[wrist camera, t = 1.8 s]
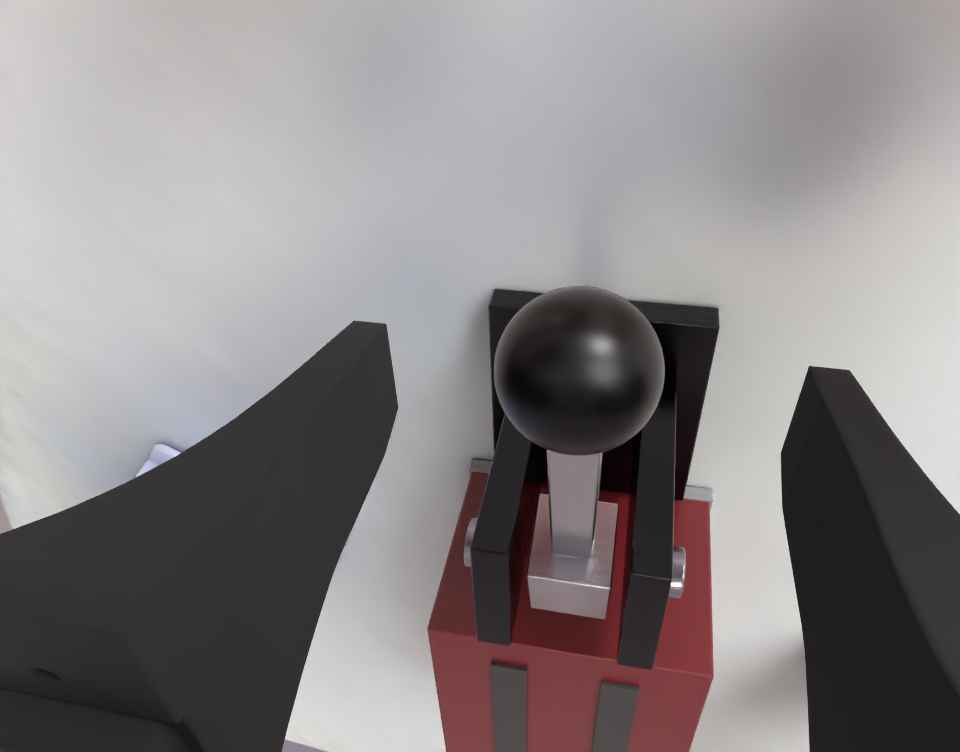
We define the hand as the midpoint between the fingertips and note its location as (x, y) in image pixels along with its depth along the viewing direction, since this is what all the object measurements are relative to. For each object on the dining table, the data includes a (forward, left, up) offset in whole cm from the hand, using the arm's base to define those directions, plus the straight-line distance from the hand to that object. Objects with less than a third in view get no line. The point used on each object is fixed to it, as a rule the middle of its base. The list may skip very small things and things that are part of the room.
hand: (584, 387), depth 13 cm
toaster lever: (+2, -4, -3) cm, 5 cm away
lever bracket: (+4, -8, -10) cm, 13 cm away
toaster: (+9, -16, -10) cm, 21 cm away
